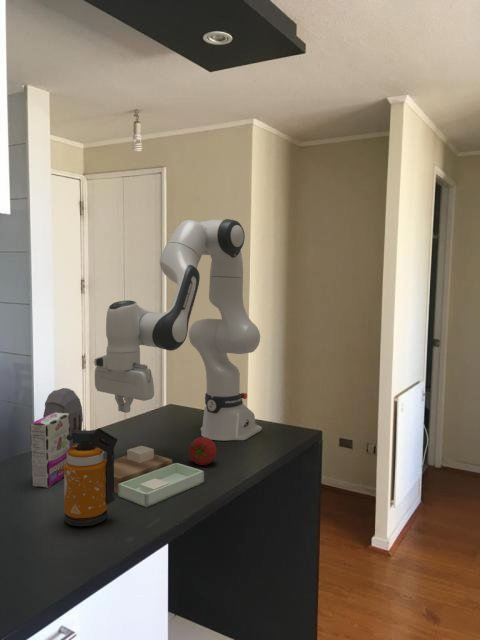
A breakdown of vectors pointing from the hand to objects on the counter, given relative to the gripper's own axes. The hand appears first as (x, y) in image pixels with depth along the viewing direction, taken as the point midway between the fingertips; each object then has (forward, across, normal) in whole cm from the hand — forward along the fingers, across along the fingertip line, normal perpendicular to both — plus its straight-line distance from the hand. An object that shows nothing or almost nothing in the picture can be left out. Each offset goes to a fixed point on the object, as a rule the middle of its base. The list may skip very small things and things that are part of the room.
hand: (124, 411), depth 148 cm
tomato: (+17, -14, -16) cm, 27 cm away
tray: (+16, -18, +4) cm, 24 cm away
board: (+16, -6, +3) cm, 18 cm away
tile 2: (+12, -5, -1) cm, 13 cm away
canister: (+16, -18, +26) cm, 35 cm away
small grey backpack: (+16, +23, +3) cm, 28 cm away
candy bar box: (+16, +9, +17) cm, 25 cm away
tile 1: (+13, -19, +8) cm, 24 cm away
